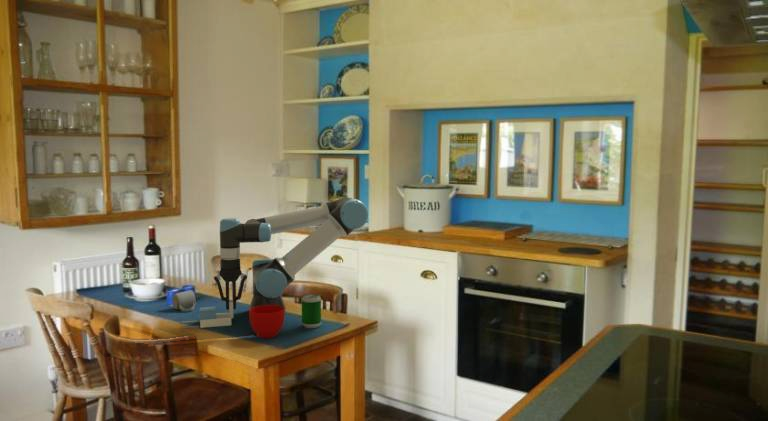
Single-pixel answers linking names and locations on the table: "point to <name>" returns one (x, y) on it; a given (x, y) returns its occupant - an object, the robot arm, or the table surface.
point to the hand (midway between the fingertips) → (231, 317)
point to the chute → (211, 321)
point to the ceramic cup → (267, 320)
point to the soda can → (311, 311)
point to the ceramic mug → (184, 301)
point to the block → (207, 313)
